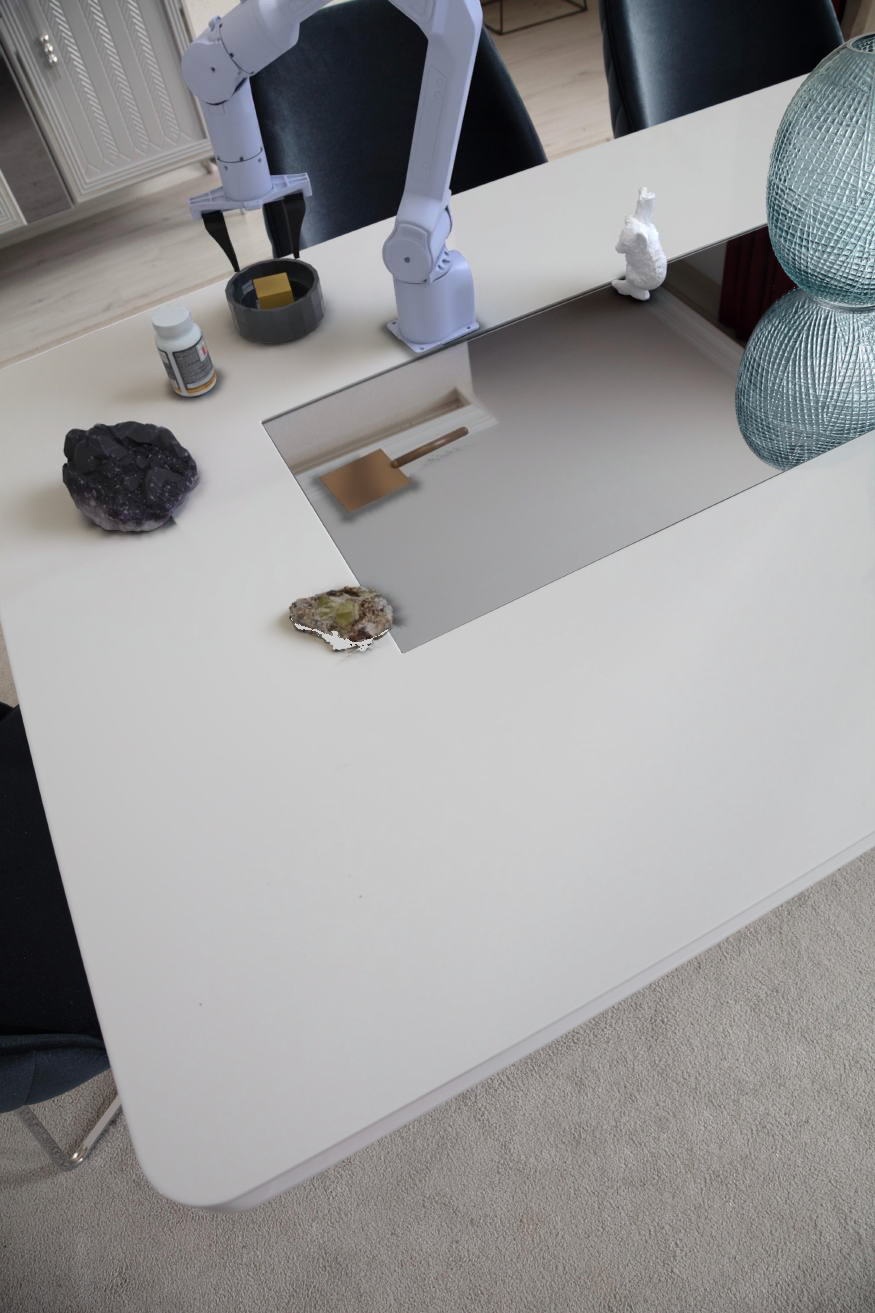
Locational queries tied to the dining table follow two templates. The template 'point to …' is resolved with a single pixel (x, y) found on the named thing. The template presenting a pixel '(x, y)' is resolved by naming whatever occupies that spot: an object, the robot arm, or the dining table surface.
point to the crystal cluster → (127, 474)
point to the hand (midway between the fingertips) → (266, 261)
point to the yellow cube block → (273, 291)
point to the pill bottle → (183, 350)
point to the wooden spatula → (377, 473)
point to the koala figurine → (641, 251)
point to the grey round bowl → (281, 319)
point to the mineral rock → (344, 613)
